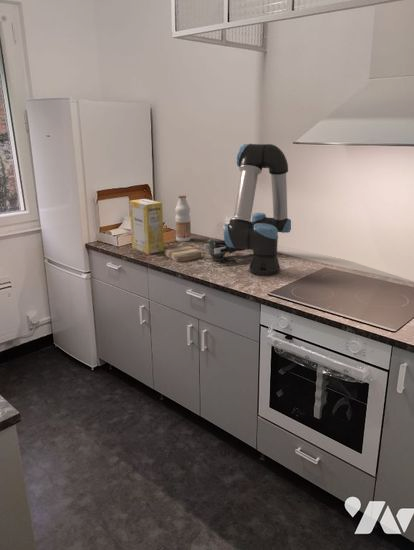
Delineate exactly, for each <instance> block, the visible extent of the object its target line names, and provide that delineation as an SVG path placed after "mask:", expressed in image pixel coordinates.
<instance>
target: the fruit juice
mask: <svg viewBox="0 0 414 550" xmlns="http://www.w3.org/2000/svg"><path fill="white" fill-rule="evenodd" d="M177 197H178V201H177V203H176V206H175V210H174V211H175V218H174V221H175V239H176V241H177V242H188V241H190V240H191V237H192V235H191V233H192V232H191V216H190V213H191V212H190V211H191V208H190V206H189V204H188V201H187V195H186V194H179V195H178V196H177Z"/></svg>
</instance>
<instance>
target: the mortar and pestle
mask: <svg viewBox="0 0 414 550" xmlns="http://www.w3.org/2000/svg"><path fill="white" fill-rule="evenodd" d="M213 242H214V240H213V239H212V238H210V239H208V240H207V244H209V245H210V246H209V247H208V249H207V250H208V253H209V255H210V256H211V260H212V261H215V262H222V261H224V257H225V255H226V254H227V252H224V253H218V254H214V249H215V248H221V247H226V246H224V245H215V244H214V243H213Z"/></svg>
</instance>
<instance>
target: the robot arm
mask: <svg viewBox="0 0 414 550" xmlns="http://www.w3.org/2000/svg"><path fill="white" fill-rule="evenodd" d="M236 165H237V167H238V169H239V171H240V172H241V173H240V179H239V185H238V190H237V195H236V202H235V207H234V212H233V217H232V218H230V219H229V223H226V224H225V225H224V227H223V240H217V241H214V240H213V243H214V244H215V245H224V246H226V247H221V248H215V249H214V254H218V253H224V252H226V253H229V254H231V253H235V252H238V251H239V252H242V251H245V250H246V251H249V250H252V251H253V252H252V253H253V256H252V258H251V262H250V264H249V269H248V271H249V273H251V274H253V275H256V276H264V277H265V276H274V275H278V274H280V272H281V267H280V263H279V259H278V241H279V239H278V238H279V233H283V234H284V233H285V234H287V233H290V232H291V231H292V229H291V220H292V219H291V220H290V218H288V190H287V174H288V173H289V164H288V159H287V158H286V156H285V153H284V152H283V151H282V150H281V149H280V148H279V147H278V146H276V145H275V144H272V143H267V144H264V143H248V144H246V143H245V144H243V145H241V146H240V147H239V149H238V151H237V154H236ZM263 169H268V173H269V174H270V177H271V178H270V179H271V195H272V197H271V198H272V212H273V213H272V216H273V217H267V215H266V213H264V212H255V213H253V207H254V200H255V195H256V190H257V184H258V177H259V175H260V174H262V172H263ZM252 213H253V214H252ZM290 230H291V231H290ZM209 246H210V245H209V243H205V244H204V245H203V249H204V250H208V247H209Z"/></svg>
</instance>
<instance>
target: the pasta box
mask: <svg viewBox="0 0 414 550" xmlns="http://www.w3.org/2000/svg"><path fill="white" fill-rule="evenodd" d="M128 203H129V216H130V218H129V219H130V232H131V248H133V249H135V250H138V251H140V252H142V253H145V254H147V255H151V254H155V253H160V252H165V246H164V245H165V243H164V239H165V238H164V218H163V202H161V201H156V200H152V199H148V198H141V199H139V198H138V199H133V200H129V202H128Z"/></svg>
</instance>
